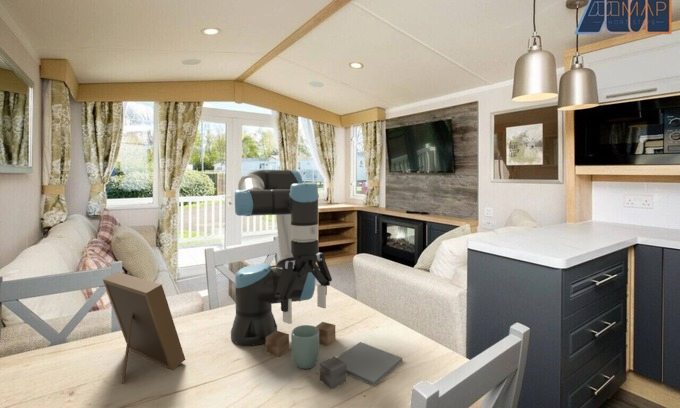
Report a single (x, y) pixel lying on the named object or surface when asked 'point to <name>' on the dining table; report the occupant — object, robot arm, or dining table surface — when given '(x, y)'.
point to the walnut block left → (326, 333)
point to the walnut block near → (277, 343)
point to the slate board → (368, 362)
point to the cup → (305, 346)
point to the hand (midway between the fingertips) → (305, 314)
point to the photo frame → (144, 319)
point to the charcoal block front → (332, 372)
